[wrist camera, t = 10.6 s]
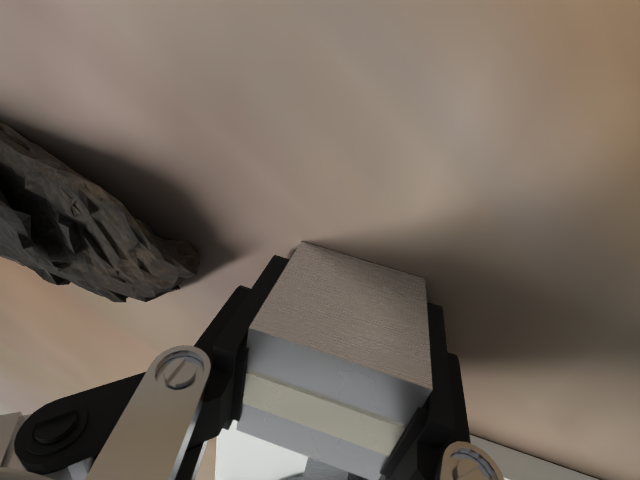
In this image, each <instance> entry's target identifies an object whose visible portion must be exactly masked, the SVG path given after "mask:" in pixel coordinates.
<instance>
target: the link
mask: <svg viewBox="0 0 640 480" xmlns="http://www.w3.org/2000/svg"><path fill="white" fill-rule="evenodd" d="M246 348H249V352H248V360H247V368H246V376H245V383H244V391H243V399H242V407H241V414H240V421H237V428H236V430H238V431H241V432H243V433H246V434H249V435H251V436H254V437H257V438H259V439H262V440H265V441H267V442H270V443H273V444H275V445H278V446H281V447H283V448H286V449H289V450H291V451H294V452H297V453H299V454H302V455H305V456H307V457H310V458H313V459H315V460H318V461H321V462H323V463H326V464H329V465H331V466H334V467H337V468H339V469H342V470H345V471H347V472H350V473H353V474H355V475H358V476H361V477H363V478H366V479H369V480H379V478H380V476H381V475H382V474H380V471H381V469H382V468H383V466H384V464H385V462H386V461H387V459H388V457H389V456H390V454H391V452H392V451H393V449H394V447H395V446H396V444H397V442H398V440H399V439H400V437H401V435H402V434H403V432H404V430H405V429H406V427H407V425H408V424H409V422H410V420H411V418H412V417H413V415H414V413H415V412H416V410H417V408H418V407H420V408H422V406H423V405H424V403H425V401H426V400H427V398H428V396H429V395H430V393H431V391H432V390H433V388H432V373H431V358H430V343H429V328H428V313H427V298H426V283H425V278H421V277H418V276H415V275H411V274H408V273H405V272H401V271H398V270H395V269H391V268H388V267H385V266H382V265H378V264H375V263H372V262H368V261H365V260H362V259H358V258H355V257H352V256H348V255H345V254H342V253H339V252H335V251H332V250H329V249H325V248H322V247H319V246H315V245H312V244H309V243H305V242H302V241H301V243H300V244H299V246H298V247H297V249H296V251H295V252H294V254H293V256H292V257H291V259H290V261H289V262H288V264H287V266H286V267H285V269H284V271H283V272H282V274H281V275H280V277H279V279H278V280H277V282H276V284H275V285H274V287H273V289H272V290H271V292H270V294H269V295H268V297H267V299H266V300H265V302H264V303H263V305H262V307H261V308H260V310H259V312H258V313H257V315H256V317H255V318H254V320H253V322H252V323H251V325H250V326H249V330H248V338H247V346H246Z"/></svg>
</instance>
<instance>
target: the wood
mask: <svg viewBox="0 0 640 480" xmlns="http://www.w3.org/2000/svg"><path fill="white" fill-rule="evenodd" d="M0 256H1V257H4V258H6V259H9V260H12V261H15V262H17V263H19V264H20V265H22V266H27V267H28V268H30V269H32V270H34V271H35V272H36V273H37V274H38V275H39V276H40V277H42V278H43V279H44V280H46V281H48V282H50V283H53V284H56V285H65V284H69V283H70V282H72V283H74V284H76V285H77V286H79V287H82V288H84V289H86V290H88V291H91V292H93V293H95V294H97V295H100V296H103V297H106V298H108V299H109V300H111V301H113V302H126V298H128V297H131V298H134V299H137V300H141V301H144V302H147V301H150V300H152V299H155V298H157V297H159V296H161V295H163V294H165V293H168V292H171V291H175V290H178V289H180V288H179V286H178V284H179V283H180V282H181V281H182V280H184V279H186V278H190V277H193V276H196V274H197V270H198V267H199V264H200V263H199V258H198V254H197V251H196V250H195V249H194V248H193V247H192V246H191V245H190V244H189V243H188V241H175V240H165V239H162V238H159V237H157V235H156V234H155V232H154V231H153V230H152V229H151V228H150V227H149V226H148V225H147V224H145V223H144V222H143V221H141V220H138V219H136V218H134V217H132V216H131V214H130V213H129V212H128V210H127V209H126V208H125V206H124V205H123V204H122V203H121V202H120V201H119V200H117V199H116V198H115V197H113V196H112V195H110V194H109V193H108V192H106V191H105V190H104V189H102V188H101V187H100V186H98V185H96V184H94V183H93V182H91V181H89V180H88V179H86V178H84V177H83V176H81V175H80V174H78V173H77V172H75V171H74V170H72V169H71V168H69V167H68V166H67V165H65V164H64V163H63V162H61V161H60V160H59V159H57V158H56V157H54V156H52V155H51V154H49V153H47V152H46V151H45V150H44V149H42V148H41V147H40V146H39V145H37V144H34V143H31V142H29V141H28V140H27V139H25V138H24V137H22V136H21V135H20V134H18V133H17V132H16V131H14V130H13V129H12V128H10V127H9V126H7V125H6V124H3V123H0Z"/></svg>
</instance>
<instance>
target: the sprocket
mask: <svg viewBox="0 0 640 480" xmlns="http://www.w3.org/2000/svg"><path fill="white" fill-rule="evenodd" d="M287 480H364V479H363V477H361V476H358V475H355V474H353V473H350V472H347V471H345V470H342V469H339V468H337V467H334V466H331V465H329V464H326V463H323V462H321V461H318V460H315V459H313V458H310V457H308V459H307V463H306V467H305V471H304V475H303V477H297V478H292V479H287Z"/></svg>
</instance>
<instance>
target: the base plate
mask: <svg viewBox="0 0 640 480" xmlns="http://www.w3.org/2000/svg"><path fill="white" fill-rule="evenodd" d="M236 428H237V421H236V420H233V422H232V424H231V426H230V428H229V430H226V429H223V428H222V430H221V432H220V434H219V435H218V436H217V446H216V468H215V480H287V479H292V478H297V477H303V475H304V471H305V467H306V463H307V459H308V457H307V456H305V455H302V454H299V453H297V452H294V451H291V450H289V449H286V448H283V447H281V446H278V445H275V444H273V443H270V442H267V441H265V440H262V439H259V438H257V437H254V436H251V435H249V434H246V433H243V432H241V431H238V430H236ZM470 442H471V444H473V445H476V446H477V447H479V448H480V449H482V450H483V451H485V452H486V453H487V454H488V455H489V456H490V457H491V458H492V459H493V460H494V462H495V463H496V465H497V466H498V468H499V469H500V470H501V472H502V475H503V477H504V479H505V480H598V479H596V478H593V477H590V476H587V475H584V474H581V473H578V472H576V471H573V470H570V469H567V468H564V467H561V466H558V465H555V464H553V463H550V462H547V461H544V460H541V459H538V458H535V457H533V456H530V455H527V454H524V453H521V452H518V451H515V450H512V449H510V448H507V447H504V446H501V445H498V444H495V443H492V442H490V441H487V440H484V439H481V438H478V437H475V436H472V435H470ZM363 479H364V480H369V479H366V478H363ZM379 480H385V476H384V475H381V476H380V478H379Z"/></svg>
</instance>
